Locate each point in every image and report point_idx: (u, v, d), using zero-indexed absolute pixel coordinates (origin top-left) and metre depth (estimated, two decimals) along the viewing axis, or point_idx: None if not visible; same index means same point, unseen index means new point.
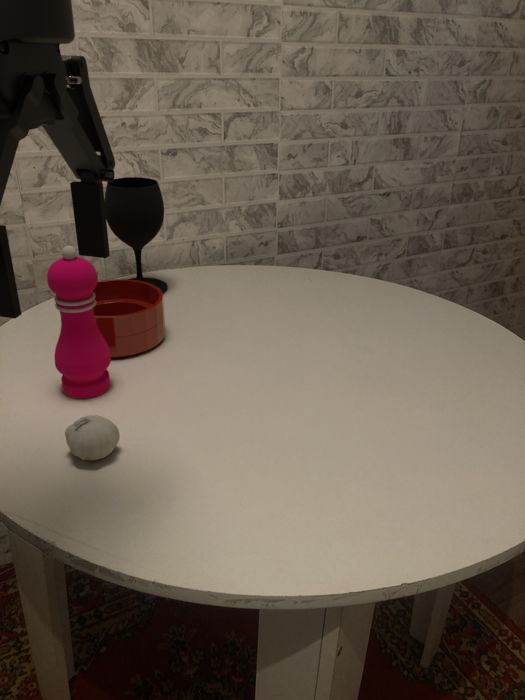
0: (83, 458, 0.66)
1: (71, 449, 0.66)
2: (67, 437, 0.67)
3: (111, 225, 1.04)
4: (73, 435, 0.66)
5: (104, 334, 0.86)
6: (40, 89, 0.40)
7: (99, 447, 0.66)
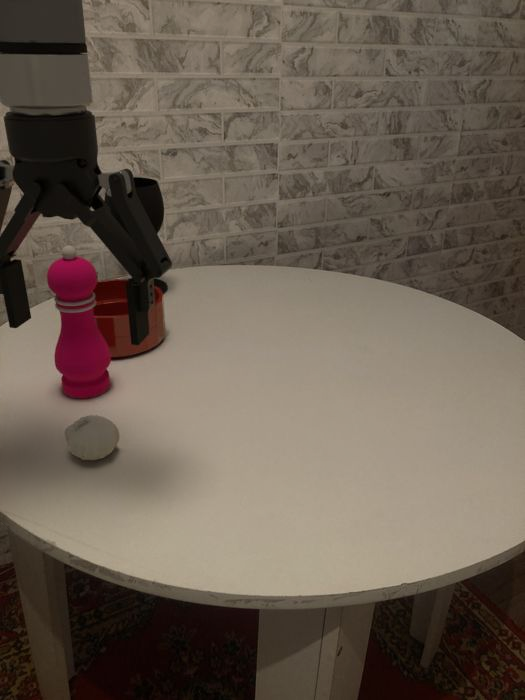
0: (83, 458, 0.66)
1: (71, 449, 0.66)
2: (67, 437, 0.67)
3: None
4: (73, 435, 0.66)
5: (104, 334, 0.86)
6: None
7: (99, 447, 0.66)
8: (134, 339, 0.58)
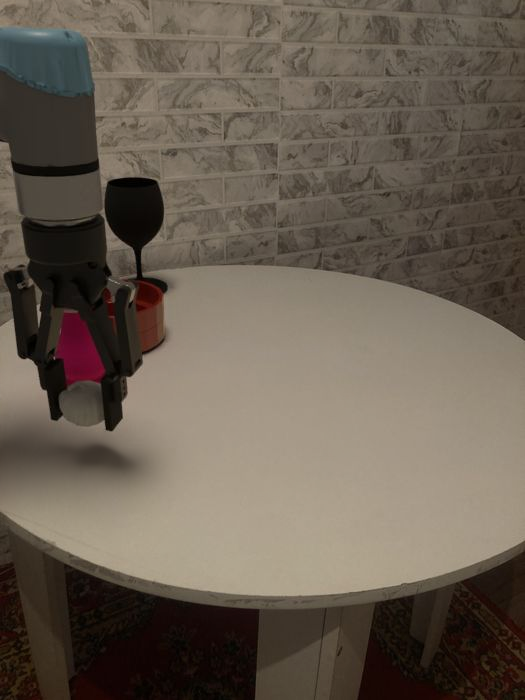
0: (77, 424, 0.64)
1: (65, 414, 0.64)
2: (60, 402, 0.65)
3: (111, 225, 1.04)
4: (66, 400, 0.64)
5: None
6: None
7: (94, 413, 0.64)
8: (108, 426, 0.65)
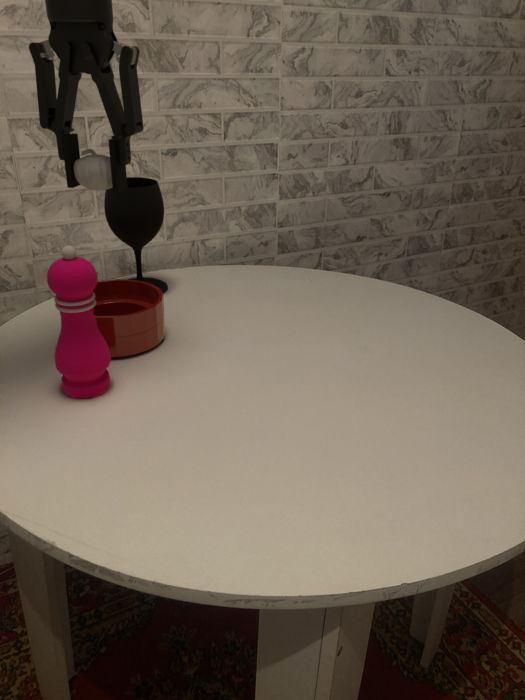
0: (89, 184, 0.77)
1: (79, 176, 0.77)
2: (75, 169, 0.78)
3: (111, 225, 1.04)
4: (80, 163, 0.77)
5: (104, 334, 0.86)
6: None
7: (103, 173, 0.77)
8: (115, 187, 0.77)
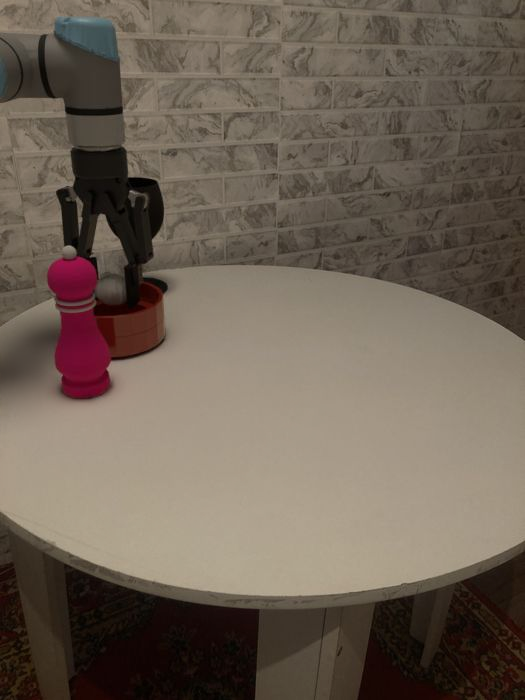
0: (107, 302, 0.90)
1: (98, 295, 0.90)
2: (95, 288, 0.90)
3: (111, 225, 1.04)
4: (99, 284, 0.89)
5: (104, 334, 0.86)
6: None
7: (119, 293, 0.89)
8: (129, 304, 0.90)
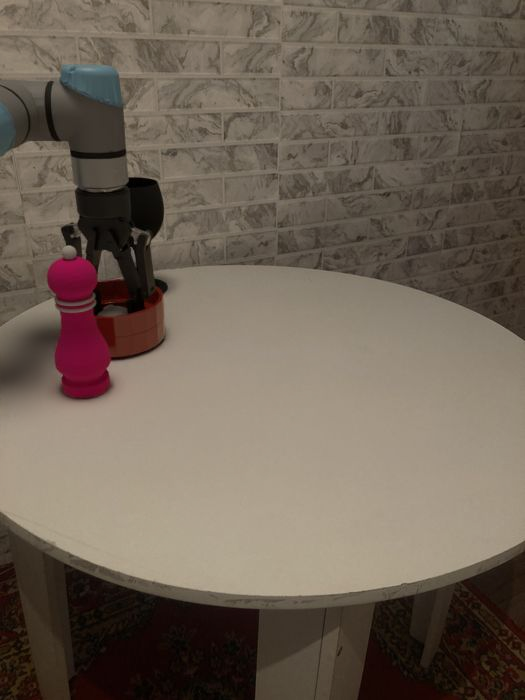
0: None
1: None
2: None
3: None
4: None
5: (104, 334, 0.86)
6: None
7: None
8: None
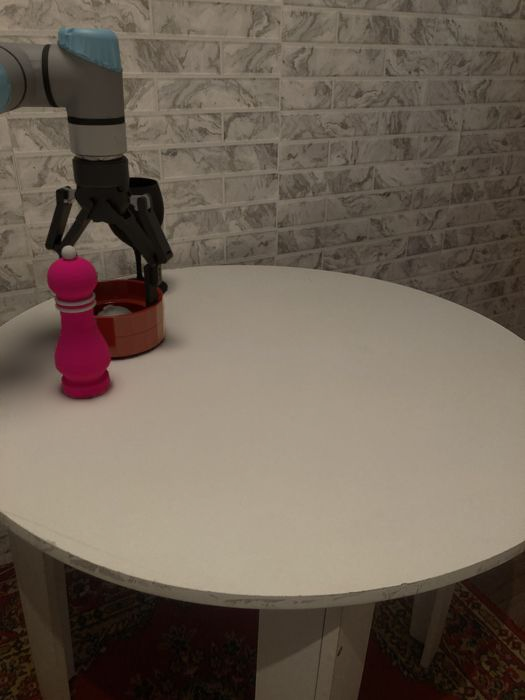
0: None
1: None
2: None
3: (111, 225, 1.04)
4: None
5: (104, 334, 0.86)
6: None
7: None
8: (148, 304, 0.89)
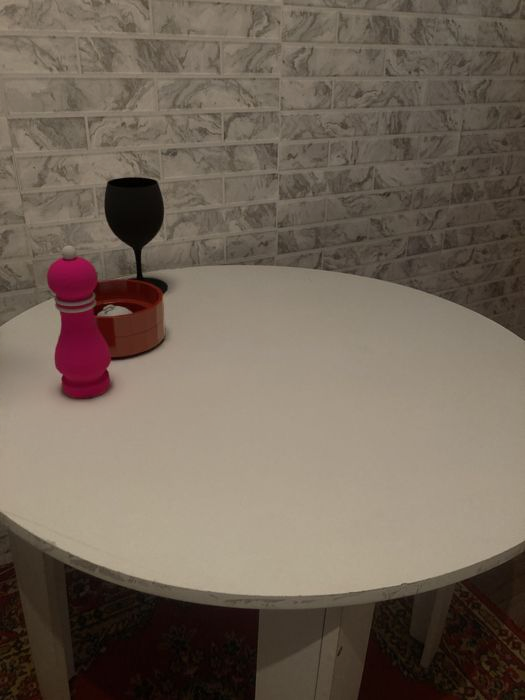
0: None
1: None
2: None
3: (111, 225, 1.04)
4: None
5: (104, 334, 0.86)
6: None
7: None
8: None
